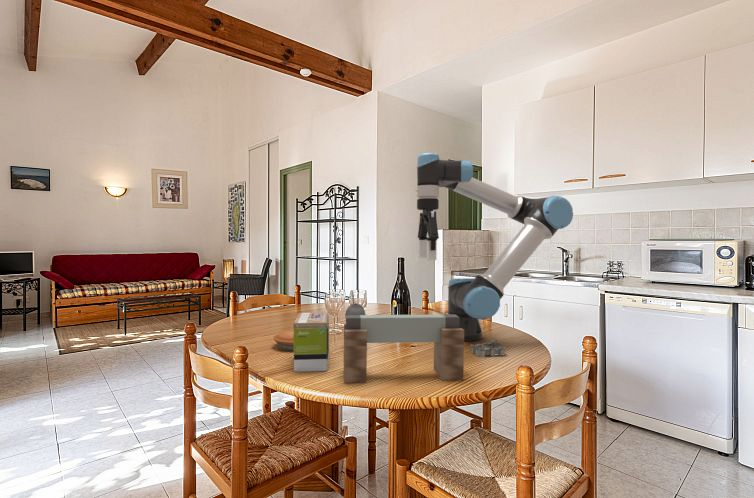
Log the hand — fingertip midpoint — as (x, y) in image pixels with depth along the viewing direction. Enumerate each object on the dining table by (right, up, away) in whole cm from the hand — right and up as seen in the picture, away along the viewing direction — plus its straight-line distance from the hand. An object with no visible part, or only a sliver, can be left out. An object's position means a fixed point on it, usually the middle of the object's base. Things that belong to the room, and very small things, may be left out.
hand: (427, 259), depth 146 cm
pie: (-47, -31, +1) cm, 56 cm away
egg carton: (+20, -33, -5) cm, 39 cm away
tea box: (-38, -32, -18) cm, 53 cm away
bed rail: (-11, -23, -28) cm, 37 cm away
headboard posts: (-11, -33, -27) cm, 44 cm away
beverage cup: (-25, -31, 0) cm, 41 cm away
